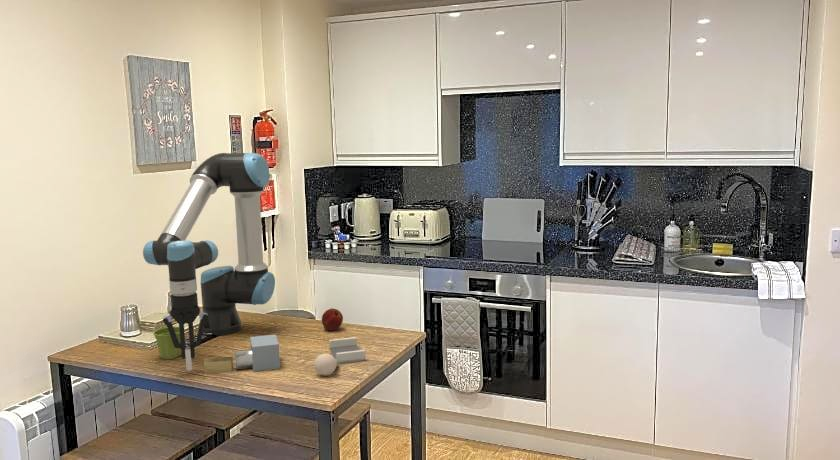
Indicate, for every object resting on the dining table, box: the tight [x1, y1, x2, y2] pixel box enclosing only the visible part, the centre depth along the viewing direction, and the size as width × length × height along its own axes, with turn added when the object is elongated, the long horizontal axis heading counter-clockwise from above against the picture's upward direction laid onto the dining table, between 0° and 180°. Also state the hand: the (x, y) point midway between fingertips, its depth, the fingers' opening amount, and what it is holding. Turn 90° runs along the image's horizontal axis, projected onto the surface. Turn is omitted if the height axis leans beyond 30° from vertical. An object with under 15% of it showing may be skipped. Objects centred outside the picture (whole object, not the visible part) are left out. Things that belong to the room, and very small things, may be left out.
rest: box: [328, 336, 366, 365], centre depth 212 cm, size 14×9×3 cm, turn 18°
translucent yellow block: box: [203, 356, 234, 374], centre depth 200 cm, size 4×8×4 cm, turn 99°
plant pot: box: [152, 326, 181, 360], centre depth 212 cm, size 9×9×9 cm
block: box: [249, 334, 281, 372], centre depth 204 cm, size 10×8×8 cm
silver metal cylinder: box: [234, 348, 253, 370], centre depth 203 cm, size 12×6×6 cm, turn 107°
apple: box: [321, 307, 344, 331], centre depth 238 cm, size 7×8×8 cm
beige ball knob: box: [313, 353, 340, 377], centre depth 197 cm, size 7×7×11 cm
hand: (189, 368), depth 198 cm, fingers closed
